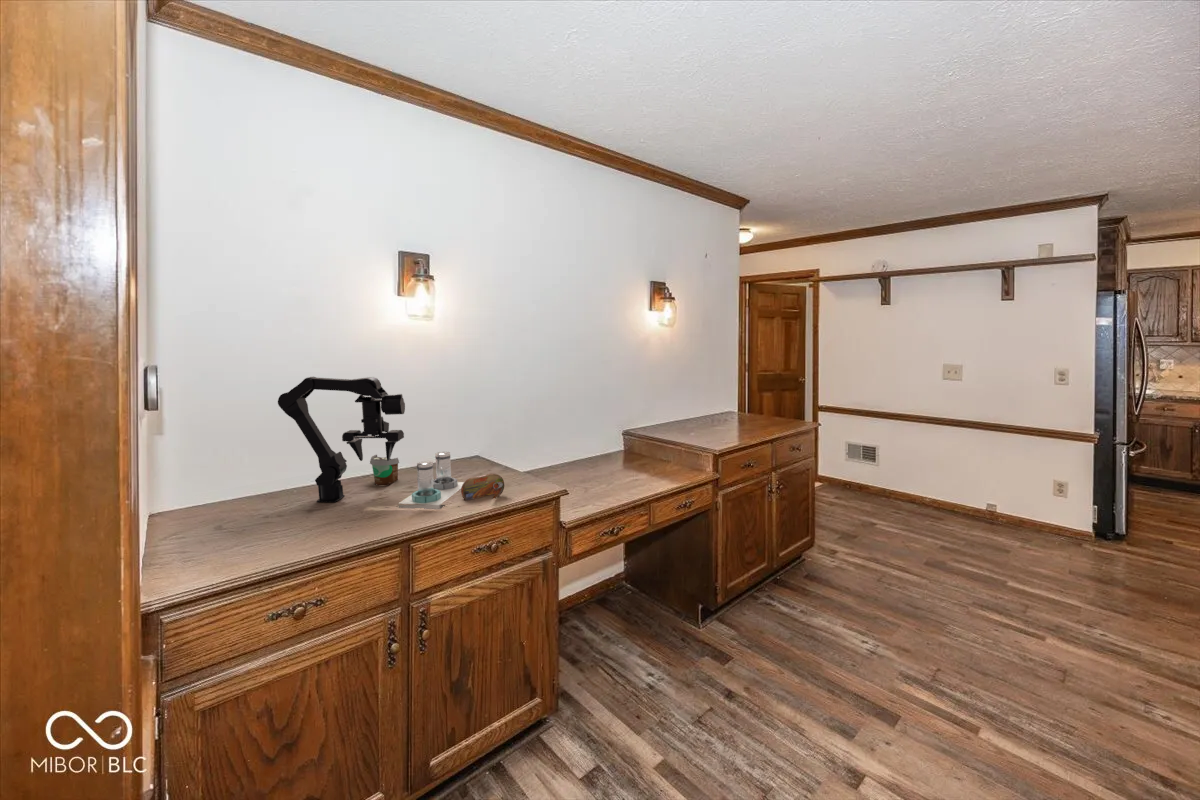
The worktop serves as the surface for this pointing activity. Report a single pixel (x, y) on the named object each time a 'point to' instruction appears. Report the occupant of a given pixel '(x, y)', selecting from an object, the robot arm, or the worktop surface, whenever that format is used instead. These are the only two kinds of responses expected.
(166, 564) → the worktop surface
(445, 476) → the clear lidded jar
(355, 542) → the worktop surface
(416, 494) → the pallet
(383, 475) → the food container
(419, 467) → the cylinder
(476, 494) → the tin
